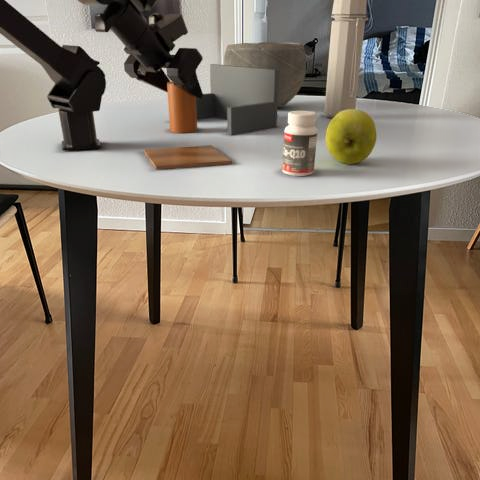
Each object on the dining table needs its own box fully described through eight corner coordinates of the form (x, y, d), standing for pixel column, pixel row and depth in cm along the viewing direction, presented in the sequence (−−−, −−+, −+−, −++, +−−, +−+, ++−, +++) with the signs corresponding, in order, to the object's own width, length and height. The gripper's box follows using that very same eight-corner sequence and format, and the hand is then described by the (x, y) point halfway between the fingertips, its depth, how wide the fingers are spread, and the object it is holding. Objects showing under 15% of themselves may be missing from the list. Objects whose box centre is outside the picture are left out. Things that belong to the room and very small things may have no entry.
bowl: (296, 101, 140) (300, 40, 133) (310, 113, 122) (315, 43, 114) (222, 101, 139) (221, 40, 131) (225, 114, 121) (224, 43, 113)
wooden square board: (231, 163, 79) (231, 160, 79) (156, 169, 76) (155, 166, 75) (211, 148, 89) (211, 145, 88) (144, 152, 85) (143, 149, 85)
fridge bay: (231, 135, 99) (231, 73, 93) (170, 121, 112) (166, 66, 106) (276, 127, 107) (279, 69, 101) (215, 115, 119) (213, 64, 114)
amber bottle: (200, 132, 101) (197, 66, 95) (173, 133, 100) (168, 66, 94) (193, 127, 106) (191, 64, 100) (167, 128, 104) (163, 64, 98)
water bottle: (317, 115, 120) (326, -9, 107) (345, 113, 122) (358, -8, 110) (336, 121, 113) (349, -11, 100) (366, 119, 115) (382, -11, 102)
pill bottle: (276, 173, 74) (279, 113, 70) (291, 166, 77) (295, 109, 73) (304, 178, 72) (309, 116, 67) (319, 171, 75) (324, 112, 71)
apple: (323, 169, 76) (328, 113, 72) (323, 155, 84) (327, 104, 80) (375, 171, 75) (383, 114, 71) (370, 157, 83) (377, 105, 79)
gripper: (191, -7, 83) (240, 64, 95) (130, -4, 94) (180, 59, 107) (156, 48, 82) (209, 113, 94) (99, 45, 94) (153, 102, 106)
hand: (187, 95), depth 100 cm, fingers open, 8 cm apart
